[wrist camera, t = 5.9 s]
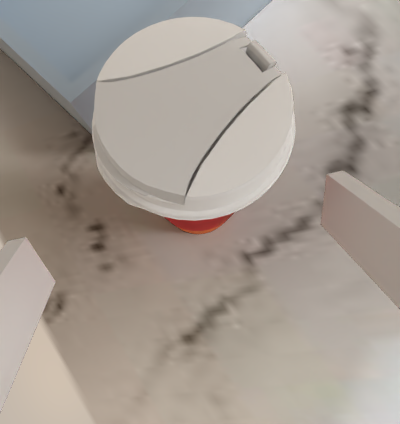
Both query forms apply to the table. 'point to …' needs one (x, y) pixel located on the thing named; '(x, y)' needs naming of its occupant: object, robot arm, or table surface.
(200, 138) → the paper cup
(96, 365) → the table surface
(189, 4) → the bin
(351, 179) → the robot arm
